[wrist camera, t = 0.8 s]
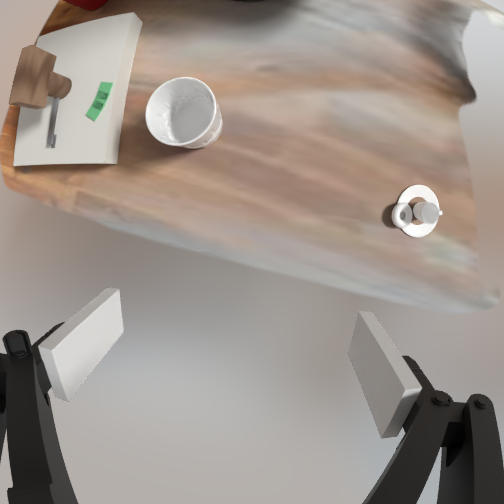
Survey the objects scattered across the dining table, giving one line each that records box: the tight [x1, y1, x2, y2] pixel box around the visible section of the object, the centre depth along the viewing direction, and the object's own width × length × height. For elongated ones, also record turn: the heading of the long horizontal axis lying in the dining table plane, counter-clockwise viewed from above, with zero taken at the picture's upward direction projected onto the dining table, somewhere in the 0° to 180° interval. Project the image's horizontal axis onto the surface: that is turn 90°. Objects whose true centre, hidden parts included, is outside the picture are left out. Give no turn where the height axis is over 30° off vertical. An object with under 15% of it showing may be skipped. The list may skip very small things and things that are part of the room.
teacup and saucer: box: [392, 185, 442, 237], centre depth 38 cm, size 9×8×4 cm
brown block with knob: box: [9, 45, 72, 144], centre depth 28 cm, size 13×4×10 cm, turn 174°
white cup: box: [145, 77, 223, 149], centre depth 33 cm, size 8×8×10 cm
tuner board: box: [14, 12, 143, 166], centre depth 35 cm, size 24×20×4 cm
